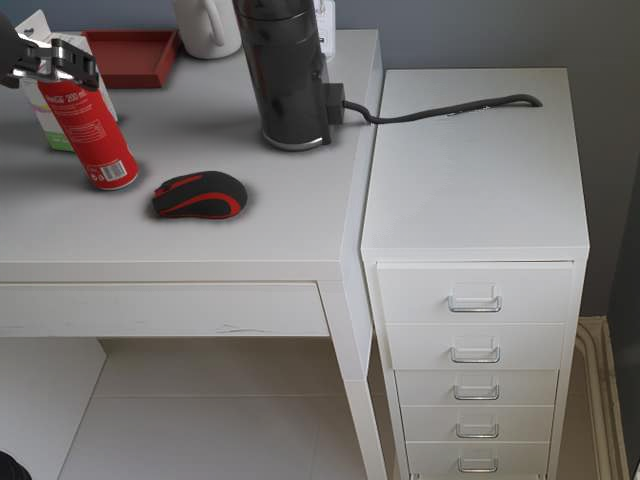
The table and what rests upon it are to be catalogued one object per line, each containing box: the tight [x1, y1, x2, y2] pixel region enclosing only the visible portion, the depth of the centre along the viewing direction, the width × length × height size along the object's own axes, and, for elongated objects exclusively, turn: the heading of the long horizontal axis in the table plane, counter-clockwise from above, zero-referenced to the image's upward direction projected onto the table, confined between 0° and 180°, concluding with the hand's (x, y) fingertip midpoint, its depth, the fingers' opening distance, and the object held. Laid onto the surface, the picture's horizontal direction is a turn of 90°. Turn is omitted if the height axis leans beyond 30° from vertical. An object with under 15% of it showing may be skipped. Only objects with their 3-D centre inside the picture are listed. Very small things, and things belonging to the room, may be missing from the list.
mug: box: [170, 0, 242, 60], centre depth 108 cm, size 12×8×11 cm
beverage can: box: [37, 62, 139, 191], centre depth 86 cm, size 6×6×15 cm
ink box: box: [14, 9, 119, 153], centre depth 92 cm, size 9×5×15 cm, turn 168°
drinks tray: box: [79, 29, 183, 89], centre depth 108 cm, size 14×13×2 cm
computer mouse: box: [151, 170, 248, 220], centre depth 87 cm, size 6×11×4 cm, turn 94°
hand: (55, 80), depth 79 cm, fingers open, 8 cm apart
